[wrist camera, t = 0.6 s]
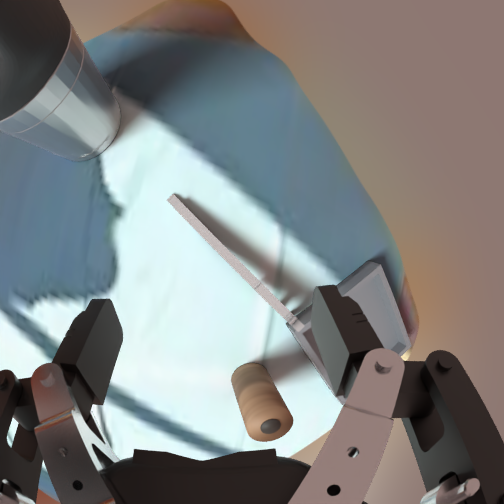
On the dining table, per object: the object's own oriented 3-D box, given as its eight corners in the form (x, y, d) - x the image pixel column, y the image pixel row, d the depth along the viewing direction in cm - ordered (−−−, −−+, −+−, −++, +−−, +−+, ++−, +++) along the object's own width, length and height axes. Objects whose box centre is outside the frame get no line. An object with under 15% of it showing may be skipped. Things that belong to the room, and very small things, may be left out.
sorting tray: (285, 323, 35) (293, 332, 32) (367, 260, 37) (380, 264, 34) (333, 394, 39) (342, 405, 36) (400, 339, 40) (411, 346, 38)
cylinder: (223, 376, 34) (238, 426, 25) (255, 356, 35) (279, 401, 25) (244, 398, 36) (263, 448, 26) (274, 379, 36) (301, 425, 26)
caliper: (292, 313, 36) (312, 332, 30) (286, 319, 36) (305, 339, 29) (173, 193, 30) (169, 189, 24) (166, 200, 30) (161, 197, 24)
